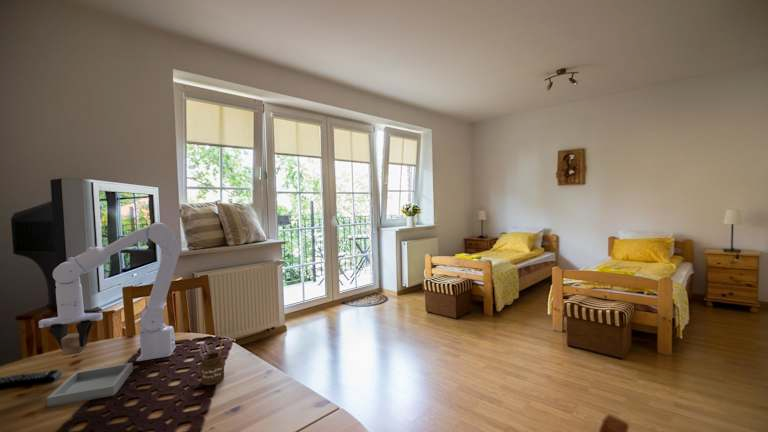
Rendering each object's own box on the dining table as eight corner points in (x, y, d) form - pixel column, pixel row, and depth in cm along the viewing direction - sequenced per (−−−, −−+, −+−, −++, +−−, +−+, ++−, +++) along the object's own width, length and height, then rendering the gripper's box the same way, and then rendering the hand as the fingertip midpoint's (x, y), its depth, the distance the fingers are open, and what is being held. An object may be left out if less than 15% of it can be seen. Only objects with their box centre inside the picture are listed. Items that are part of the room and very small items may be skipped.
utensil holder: (201, 378, 98) (198, 337, 97) (225, 372, 101) (222, 332, 100) (200, 388, 93) (198, 345, 92) (226, 381, 96) (223, 340, 95)
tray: (133, 370, 104) (132, 362, 104) (114, 395, 91) (113, 386, 90) (76, 380, 99) (75, 371, 99) (47, 407, 86) (46, 398, 86)
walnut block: (86, 347, 105) (84, 331, 104) (79, 353, 101) (78, 336, 101) (69, 350, 103) (68, 334, 103) (62, 355, 100) (61, 339, 99)
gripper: (30, 309, 95) (34, 357, 96) (93, 302, 100) (97, 348, 101) (45, 302, 102) (49, 346, 103) (104, 296, 107) (107, 338, 107)
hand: (74, 346), depth 102 cm, fingers closed on walnut block, 4 cm apart
